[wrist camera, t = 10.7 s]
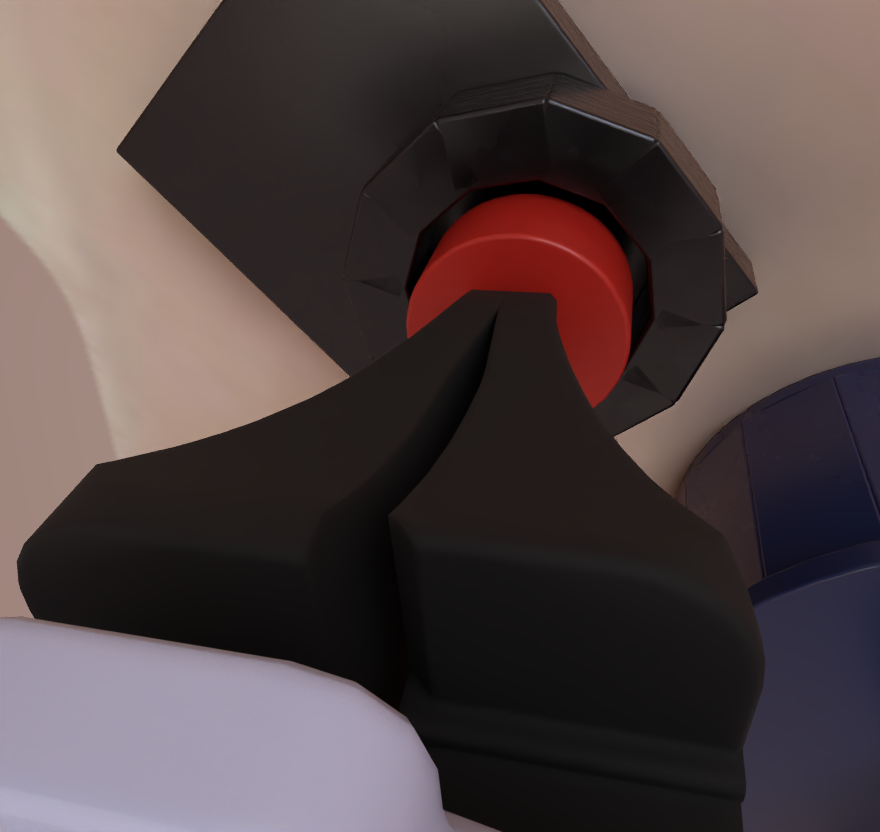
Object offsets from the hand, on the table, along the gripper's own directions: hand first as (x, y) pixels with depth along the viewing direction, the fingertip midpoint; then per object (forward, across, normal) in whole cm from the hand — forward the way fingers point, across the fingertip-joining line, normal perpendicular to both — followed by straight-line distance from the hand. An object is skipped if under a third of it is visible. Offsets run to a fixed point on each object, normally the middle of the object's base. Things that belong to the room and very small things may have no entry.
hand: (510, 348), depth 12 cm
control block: (+4, +2, -1) cm, 5 cm away
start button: (+2, 0, 0) cm, 2 cm away
